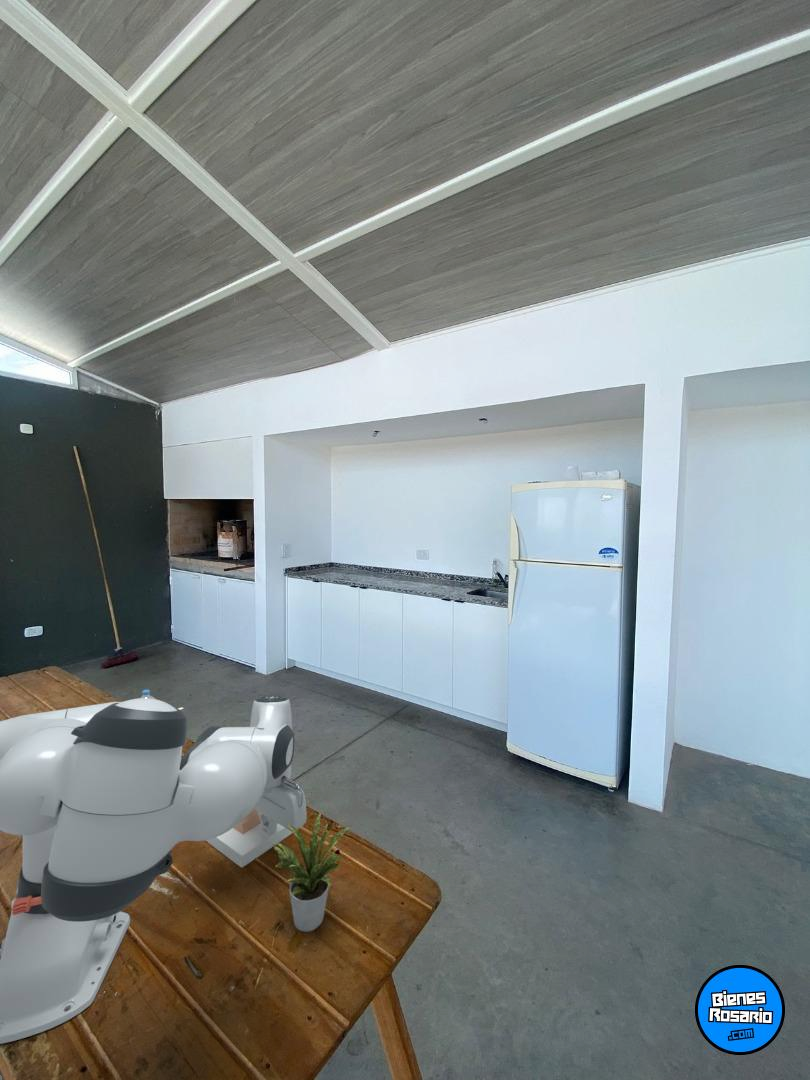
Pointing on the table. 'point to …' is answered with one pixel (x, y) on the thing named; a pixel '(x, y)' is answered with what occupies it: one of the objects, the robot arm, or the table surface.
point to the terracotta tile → (248, 822)
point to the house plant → (309, 876)
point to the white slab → (247, 843)
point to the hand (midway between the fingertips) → (268, 832)
